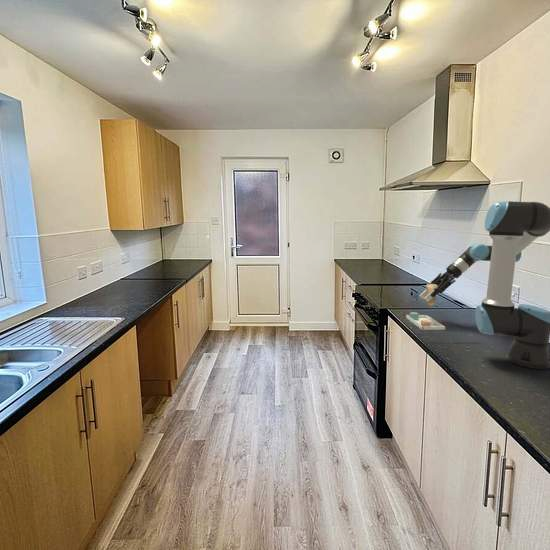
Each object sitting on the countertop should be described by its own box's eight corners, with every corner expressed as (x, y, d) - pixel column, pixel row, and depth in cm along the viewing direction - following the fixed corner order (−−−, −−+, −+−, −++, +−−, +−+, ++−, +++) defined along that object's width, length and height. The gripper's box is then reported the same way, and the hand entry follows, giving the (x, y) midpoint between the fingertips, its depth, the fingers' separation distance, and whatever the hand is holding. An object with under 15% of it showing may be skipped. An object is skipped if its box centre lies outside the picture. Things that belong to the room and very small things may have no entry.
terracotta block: (430, 328, 188) (430, 322, 187) (423, 328, 188) (424, 322, 187) (427, 326, 191) (427, 320, 191) (420, 326, 191) (421, 320, 191)
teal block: (418, 320, 203) (418, 314, 202) (412, 320, 202) (412, 314, 202) (415, 318, 206) (416, 312, 205) (409, 318, 206) (410, 312, 205)
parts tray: (445, 331, 187) (445, 326, 187) (421, 331, 187) (422, 326, 186) (426, 319, 208) (426, 315, 207) (405, 319, 207) (405, 315, 207)
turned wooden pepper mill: (436, 306, 193) (438, 285, 191) (427, 306, 193) (429, 285, 191) (432, 303, 198) (434, 283, 196) (423, 303, 198) (425, 283, 196)
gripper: (471, 276, 184) (436, 308, 187) (452, 270, 202) (420, 299, 204) (462, 266, 183) (426, 298, 185) (444, 260, 201) (412, 290, 203)
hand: (423, 298), depth 195 cm, fingers closed on turned wooden pepper mill, 5 cm apart
